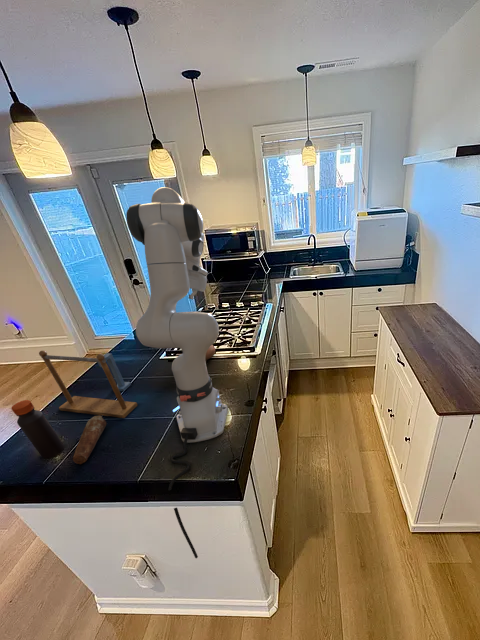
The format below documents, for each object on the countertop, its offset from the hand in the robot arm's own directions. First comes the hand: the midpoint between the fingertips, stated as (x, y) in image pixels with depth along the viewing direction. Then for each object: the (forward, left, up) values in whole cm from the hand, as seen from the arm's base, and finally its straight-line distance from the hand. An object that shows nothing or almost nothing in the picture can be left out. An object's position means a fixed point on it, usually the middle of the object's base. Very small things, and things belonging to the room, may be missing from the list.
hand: (181, 296), depth 146 cm
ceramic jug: (-9, -2, -28) cm, 30 cm away
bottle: (-59, +48, -28) cm, 81 cm away
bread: (-60, +35, -28) cm, 74 cm away
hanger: (-25, +32, -28) cm, 49 cm away
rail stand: (-37, +39, -28) cm, 60 cm away
